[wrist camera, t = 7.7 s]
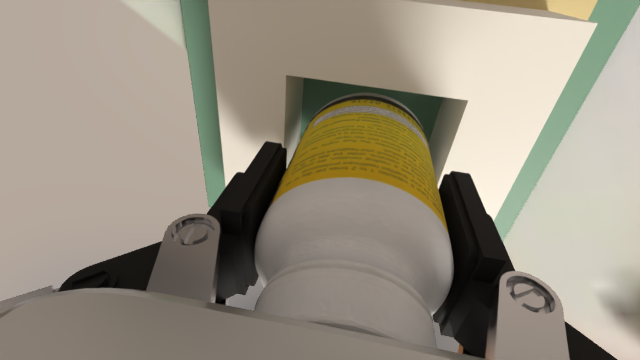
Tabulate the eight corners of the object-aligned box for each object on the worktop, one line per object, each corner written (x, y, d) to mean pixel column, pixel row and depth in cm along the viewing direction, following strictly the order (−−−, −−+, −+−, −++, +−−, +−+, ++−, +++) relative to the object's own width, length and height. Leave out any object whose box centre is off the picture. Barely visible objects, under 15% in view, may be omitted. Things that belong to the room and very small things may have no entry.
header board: (638, -12, 12) (738, -4, 8) (490, 250, 20) (512, 308, 16) (179, -61, 13) (111, -71, 10) (212, 201, 21) (180, 244, 18)
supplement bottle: (291, 98, 14) (157, 289, 6) (424, 79, 12) (505, 291, 4) (316, 200, 16) (253, 426, 8) (427, 193, 15) (479, 453, 7)
